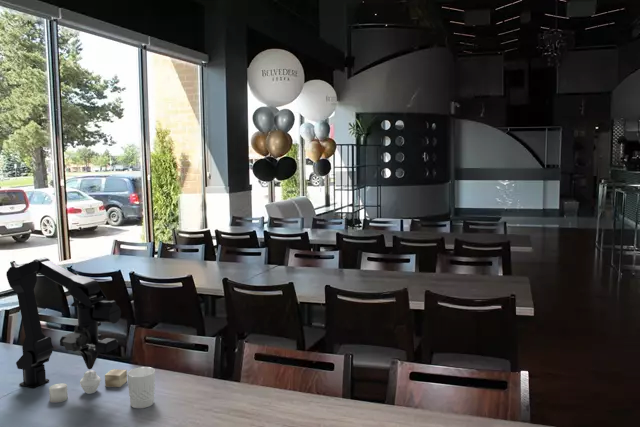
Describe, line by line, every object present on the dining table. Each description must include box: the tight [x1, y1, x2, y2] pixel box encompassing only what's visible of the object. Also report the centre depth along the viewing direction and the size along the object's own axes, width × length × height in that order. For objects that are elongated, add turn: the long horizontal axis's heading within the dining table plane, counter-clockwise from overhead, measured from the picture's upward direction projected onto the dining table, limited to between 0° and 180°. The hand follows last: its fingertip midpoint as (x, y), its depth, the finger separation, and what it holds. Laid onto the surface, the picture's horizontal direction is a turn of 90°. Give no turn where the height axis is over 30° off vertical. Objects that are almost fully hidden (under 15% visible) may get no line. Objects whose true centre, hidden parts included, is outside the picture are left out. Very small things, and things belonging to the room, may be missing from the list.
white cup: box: [127, 366, 156, 409], centre depth 170 cm, size 8×8×10 cm
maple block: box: [104, 368, 128, 388], centre depth 185 cm, size 5×5×4 cm
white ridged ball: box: [79, 369, 102, 395], centre depth 179 cm, size 6×6×7 cm
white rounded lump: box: [48, 382, 69, 404], centre depth 174 cm, size 5×5×4 cm
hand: (90, 368), depth 178 cm, fingers closed
